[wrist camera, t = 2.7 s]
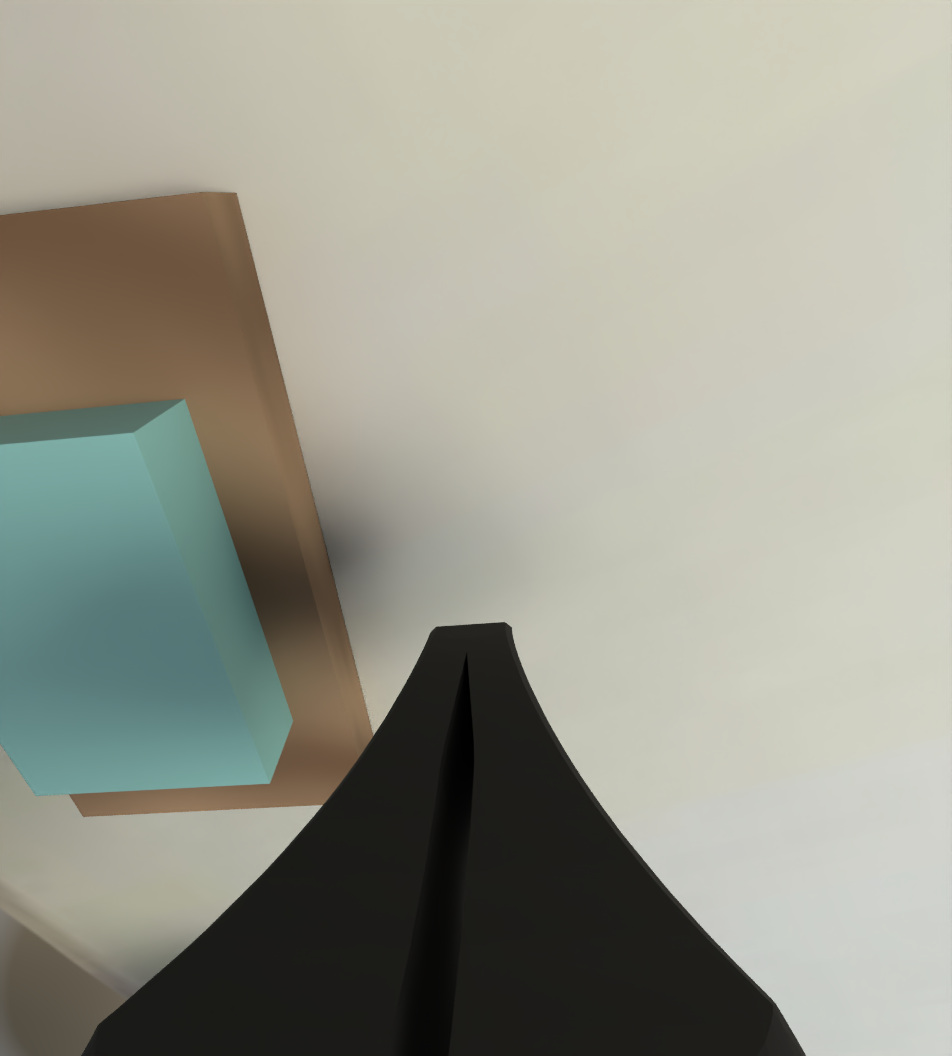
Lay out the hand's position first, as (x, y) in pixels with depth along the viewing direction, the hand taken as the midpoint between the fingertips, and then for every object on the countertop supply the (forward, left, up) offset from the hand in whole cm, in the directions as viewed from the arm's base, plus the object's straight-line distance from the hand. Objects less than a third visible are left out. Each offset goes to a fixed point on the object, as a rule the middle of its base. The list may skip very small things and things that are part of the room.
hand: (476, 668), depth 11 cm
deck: (0, +9, -5) cm, 10 cm away
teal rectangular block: (0, +9, -4) cm, 9 cm away
